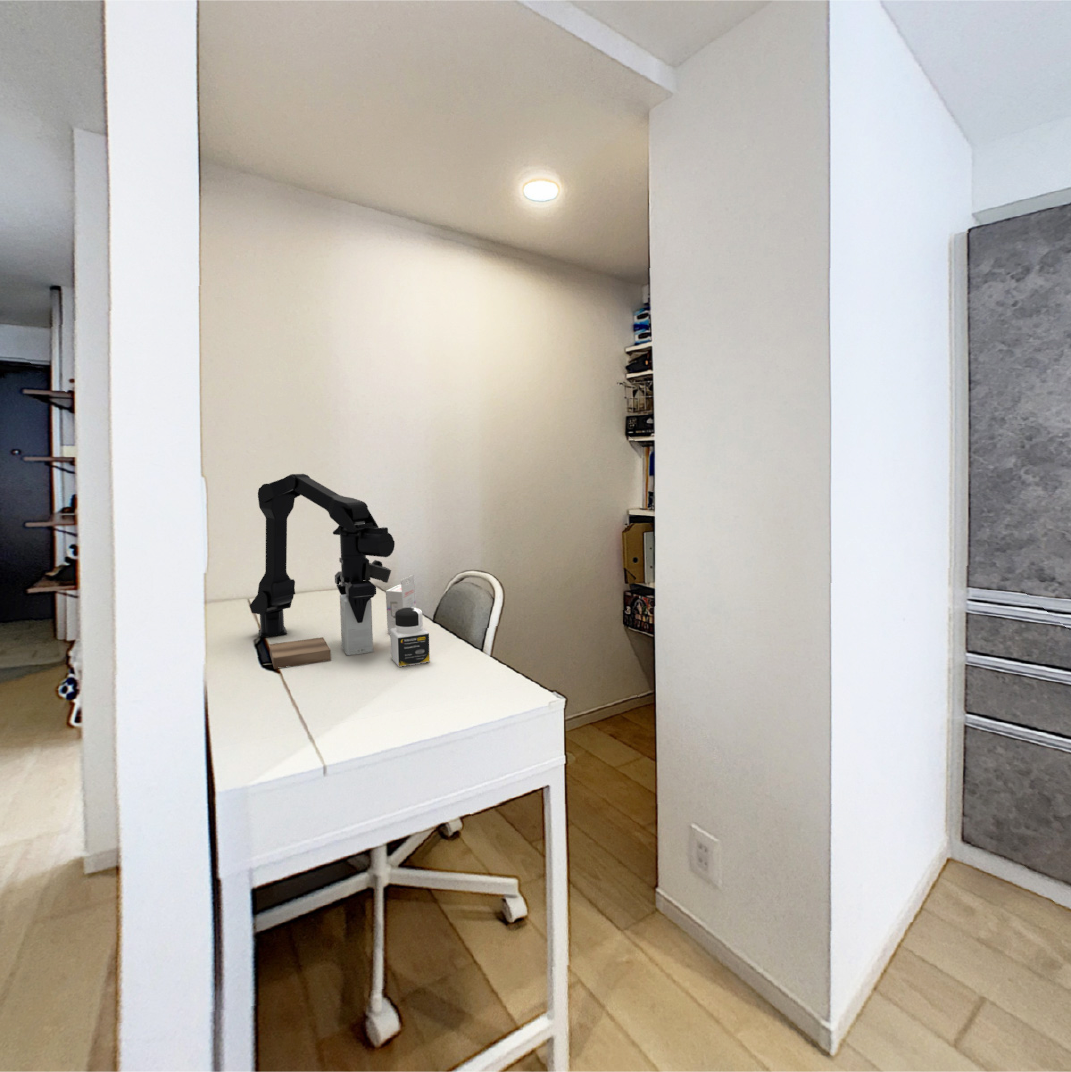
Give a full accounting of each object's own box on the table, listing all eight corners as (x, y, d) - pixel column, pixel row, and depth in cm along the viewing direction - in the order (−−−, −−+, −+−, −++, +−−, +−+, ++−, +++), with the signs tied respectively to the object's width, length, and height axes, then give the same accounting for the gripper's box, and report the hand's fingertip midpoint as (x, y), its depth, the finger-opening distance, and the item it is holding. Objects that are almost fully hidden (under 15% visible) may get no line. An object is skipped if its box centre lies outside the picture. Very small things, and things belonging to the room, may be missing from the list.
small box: (373, 652, 142) (371, 598, 140) (346, 656, 139) (343, 601, 138) (367, 642, 149) (365, 592, 148) (341, 646, 147) (338, 594, 145)
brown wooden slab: (270, 654, 140) (269, 644, 140) (323, 647, 146) (323, 637, 146) (274, 669, 131) (273, 658, 130) (331, 660, 136) (330, 649, 136)
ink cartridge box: (400, 625, 165) (398, 573, 163) (416, 626, 164) (415, 573, 162) (386, 634, 157) (384, 579, 155) (404, 635, 156) (402, 580, 154)
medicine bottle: (398, 667, 132) (397, 614, 130) (390, 658, 138) (389, 607, 136) (430, 662, 135) (428, 610, 133) (420, 653, 141) (419, 604, 140)
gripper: (397, 557, 137) (399, 623, 139) (378, 546, 153) (380, 605, 155) (347, 561, 132) (350, 629, 134) (333, 549, 148) (335, 610, 150)
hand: (355, 618), depth 143 cm, fingers open, 9 cm apart
